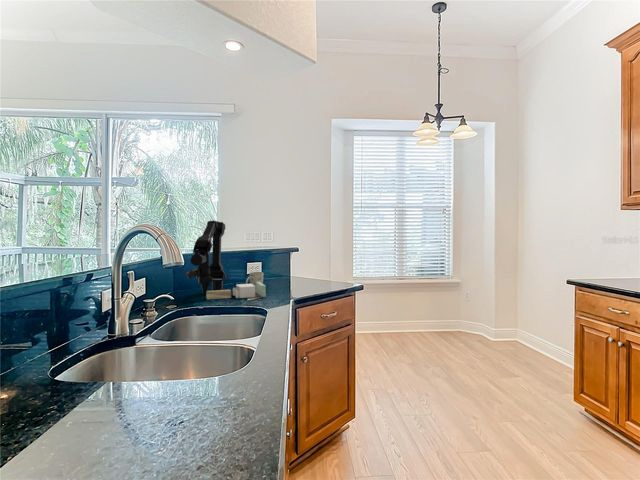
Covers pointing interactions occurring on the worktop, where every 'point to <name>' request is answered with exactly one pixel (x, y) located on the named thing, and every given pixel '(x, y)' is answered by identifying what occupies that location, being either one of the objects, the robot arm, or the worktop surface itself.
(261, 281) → the mug
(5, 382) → the worktop surface
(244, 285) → the block
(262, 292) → the wall
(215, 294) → the dowel
